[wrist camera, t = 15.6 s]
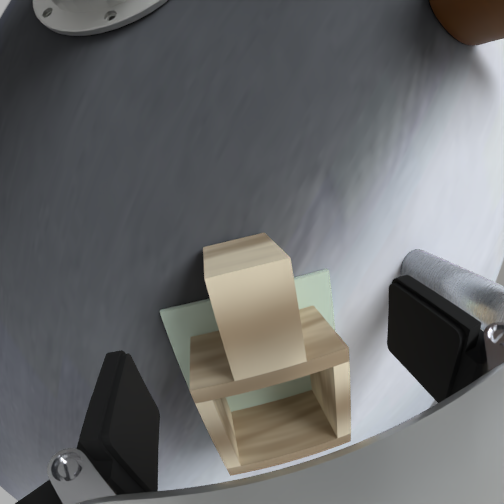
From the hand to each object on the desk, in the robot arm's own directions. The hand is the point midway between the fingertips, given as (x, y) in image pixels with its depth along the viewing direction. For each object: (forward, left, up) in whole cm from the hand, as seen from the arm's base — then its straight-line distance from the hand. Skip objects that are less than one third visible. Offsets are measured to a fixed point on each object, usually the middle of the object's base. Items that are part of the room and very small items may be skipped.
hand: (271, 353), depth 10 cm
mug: (-18, +27, -11) cm, 34 cm away
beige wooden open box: (+6, 0, -11) cm, 12 cm away
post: (+4, +14, -11) cm, 18 cm away
